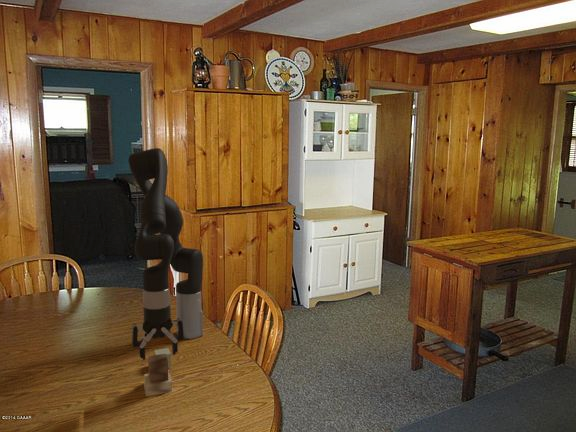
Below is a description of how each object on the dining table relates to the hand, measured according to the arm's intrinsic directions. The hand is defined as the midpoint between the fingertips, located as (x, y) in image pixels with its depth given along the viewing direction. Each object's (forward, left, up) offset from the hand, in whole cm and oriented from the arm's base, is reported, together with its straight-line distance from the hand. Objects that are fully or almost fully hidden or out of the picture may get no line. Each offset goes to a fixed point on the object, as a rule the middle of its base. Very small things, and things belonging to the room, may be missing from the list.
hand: (158, 356), depth 141 cm
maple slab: (0, 0, -10) cm, 10 cm away
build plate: (0, 0, -11) cm, 11 cm away
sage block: (-3, -13, -11) cm, 17 cm away
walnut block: (0, 0, -7) cm, 7 cm away
